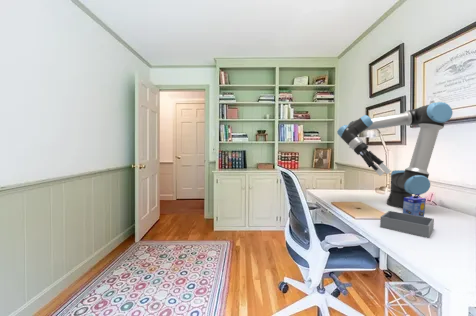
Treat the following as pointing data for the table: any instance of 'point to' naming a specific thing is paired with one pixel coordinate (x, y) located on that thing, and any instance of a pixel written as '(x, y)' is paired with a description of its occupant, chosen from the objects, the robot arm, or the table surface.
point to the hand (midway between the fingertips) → (385, 173)
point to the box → (407, 223)
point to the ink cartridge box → (414, 205)
